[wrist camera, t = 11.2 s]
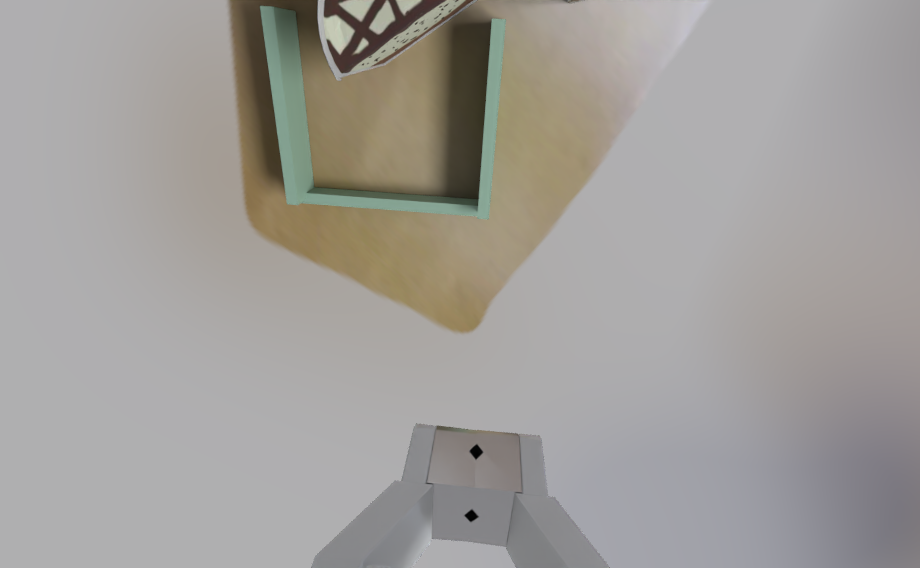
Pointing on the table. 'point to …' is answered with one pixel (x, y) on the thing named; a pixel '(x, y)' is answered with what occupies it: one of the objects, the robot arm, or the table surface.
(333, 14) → the food container
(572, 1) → the coffee box
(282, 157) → the u-shaped frame
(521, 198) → the table surface
